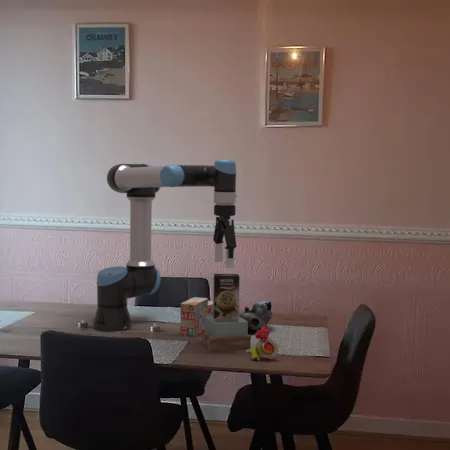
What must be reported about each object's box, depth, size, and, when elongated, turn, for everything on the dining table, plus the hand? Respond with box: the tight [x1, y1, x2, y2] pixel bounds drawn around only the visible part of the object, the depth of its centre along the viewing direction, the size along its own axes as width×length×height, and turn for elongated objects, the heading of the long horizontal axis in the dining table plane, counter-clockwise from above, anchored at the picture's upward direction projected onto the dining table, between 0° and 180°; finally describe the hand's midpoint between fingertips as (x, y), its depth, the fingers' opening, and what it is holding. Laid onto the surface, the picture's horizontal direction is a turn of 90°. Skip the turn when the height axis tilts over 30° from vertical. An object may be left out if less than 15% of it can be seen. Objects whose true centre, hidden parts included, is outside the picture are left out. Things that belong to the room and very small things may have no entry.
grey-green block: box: [204, 316, 249, 338], centre depth 218 cm, size 12×12×5 cm
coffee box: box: [212, 273, 240, 321], centre depth 216 cm, size 9×6×16 cm
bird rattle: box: [249, 326, 279, 361], centre depth 202 cm, size 6×11×9 cm
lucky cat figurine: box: [239, 300, 274, 332], centre depth 240 cm, size 15×12×14 cm
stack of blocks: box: [180, 296, 213, 337], centre depth 241 cm, size 21×6×12 cm, turn 158°
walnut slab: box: [201, 329, 252, 353], centre depth 218 cm, size 14×14×5 cm
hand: (224, 264), depth 214 cm, fingers open, 13 cm apart
